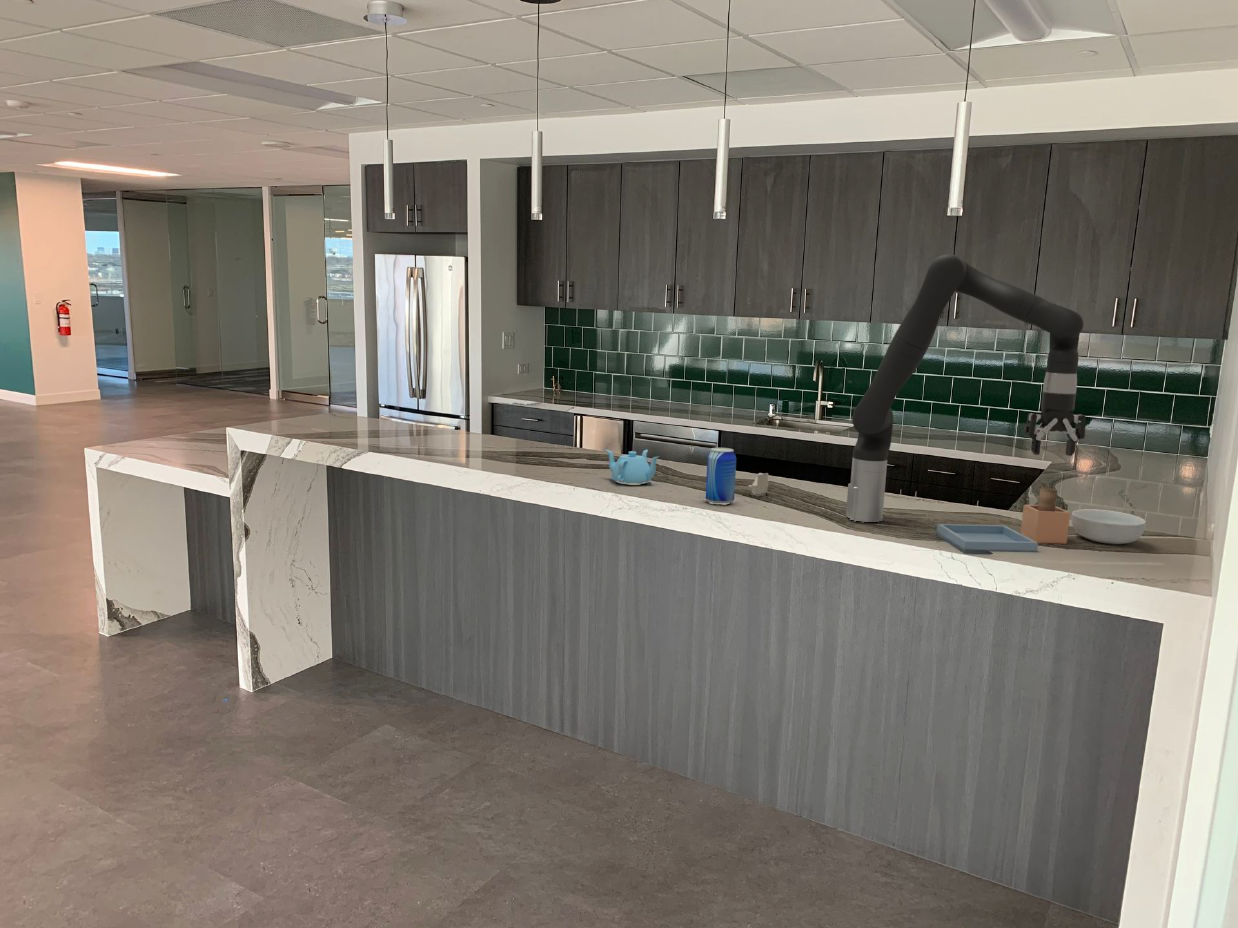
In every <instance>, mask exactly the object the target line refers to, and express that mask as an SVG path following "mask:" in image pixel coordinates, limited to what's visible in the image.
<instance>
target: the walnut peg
mask: <svg viewBox="0 0 1238 928" xmlns="http://www.w3.org/2000/svg"><path fill="white" fill-rule="evenodd" d="M1057 497H1058V489H1056V488H1051V487H1041V488H1040V489H1039V497H1038V504H1037V505H1038V510H1039V511H1055V507H1057V506H1056V505H1057Z"/></svg>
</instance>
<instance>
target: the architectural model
mask: <svg viewBox="0 0 1238 928" xmlns="http://www.w3.org/2000/svg"><path fill="white" fill-rule="evenodd" d="M769 485H770V484H769V472H765V473H762V472H759V473H757V476H756V477H755V480H753V481H752V483H751V484H749V485H748V488H749V487H750V488H751V494H752V493H753V494H761V493H764V492H767V493H768V486H769Z"/></svg>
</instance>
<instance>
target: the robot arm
mask: <svg viewBox="0 0 1238 928" xmlns="http://www.w3.org/2000/svg"><path fill="white" fill-rule="evenodd" d="M926 271H927V272H926V274H925V277H924V280H923V282H922V285H921V287H920V289H919V292H918V294H917V297H916V299H915V300H914V303H913V304H912V306H911V308H910V309H909V310H908V312H907V313H906V315H905V317H904V318H903V320H902V322H901V323H900V324H899V326H898V329H897V330H896V332H895V333H894V335H893V337H892V339H891V341H890V342H889V345H888V347H887V349H886V352H885V354H884V356H883V358H882V359H881V362H880V364H879V366H878V368H877V371H876V373H875V375H874V378H873V380H872V381H871V384H870V386H869V387H868V388H867V390H866V392H865V393H864V394H863V396H862V398H861V399H860V401H858V404H857V405H856V407H855V408H854V411H853V413H852V420H851V421H852V425H853V428H854V429H855V430H856V432H857V433H858V436H857V440H856V443H855V445H854V447H853V450H852V462H851V473H850V475H851V476H850V483H848V485H847V498H846V508H845V509H846V511H845V517H846V516H847V517H848V518H850V519H849V521H851V520H854V521H853V522H856V521H864V522H878V523H880V522H879V521H881V522H883V516H884V505H885V491H886V479H887V478H886V477H887V469H888V468H887V466H888V456H889V451H890V448H891V445H892V437H893V426H894V413H893V409H892V408H891V407H892V406H893V405H892V404H893V403H894V400H895V399H896V397H897V395H898V393H899V391H901V389H902V388H903V386H905V384H906V383H907V382H908V381H909V379H910V378H911V377H912V375H913V374H914V373H915V371H916V370H917V369H918V368H919V366H920V364H921V363H922V360H923V359H924V357H925V355H926V353H927V351H928V349H929V347H930V345H931V342H932V340H933V338H934V335H935V332H936V330H937V326H938V324H939V321H940V318H941V316H942V313H943V312H944V309H946V307H947V304H948V303H949V301H950V299H951V298H952V296H953V295H954V294H955V292H956V293H961V294H964V295H968V296H969V297H972V298H974V299H978V300H979V301H981V302H984V303H985V304H987V305H989V306H991V307H993V308H994V309H995V310H998V311H999V312H1001V313H1004V314H1005V315H1008V316H1009V317H1012V318H1014V319H1016V320H1018V321H1021V322H1023V323H1026V324H1028V325H1032V326H1036V327H1037V328H1040V329H1041V330H1044V331H1045V332H1047V333H1049V342H1048V343H1049V345H1048V346H1049V349H1048V355H1047V359H1046V361H1047V362H1046V370H1045V375H1044V380H1043V386H1042V394H1041V395H1042V396H1041V407H1040V408H1041V411H1040V413H1039V414H1037V413H1032V412H1029V413H1027V417H1026V418H1027V420H1026V423H1025V424H1026V425H1025V430H1024V436H1025V437H1027V438H1030V439H1031V447H1030V450H1031V452H1032V454H1033V455H1036V456H1039V455H1040V454H1041V453H1040V452H1041V445H1042V440H1041V439H1042V438H1043V436H1044V435H1046V434H1048V433H1049V432H1062V433H1063V434H1065V436H1066V438H1067V440H1066V445H1065V446H1066V447H1065V456H1071V457H1072V456H1073V455H1074V454H1075V453H1076V444H1077V441H1078V440H1081V439H1082V440H1084V438H1085V437H1086V420H1087V419H1086V418H1087V417H1086V415H1085V414H1084V415H1083V414H1081V413H1080V414H1079V413H1077V414H1074V411H1075V405H1076V398H1077V397H1076V396H1077V388H1078V387H1077V386H1078V376H1077V375H1078V367H1079V352H1078V351H1079V349H1078V347H1079V342H1080V336H1081V335H1080V334H1081V333H1082V331H1083V328H1084V320H1083V317H1082V315H1081V314H1079V313H1078V312H1077V311H1075V310H1072V309H1070V308H1067V307H1064V306H1062V305H1058V304H1056V303H1054V302H1051V301H1048V300H1047V299H1044V298H1043V297H1042V296H1039V295H1036V294H1034V293H1032V292H1029V291H1027V290H1026V289H1022V288H1020V287H1019V286H1018V287H1017V286H1016V285H1012V284H1009V283H1007V282H1004V281H1001V280H999V279H996V278H994V277H992V276H989V275H988V274H985V273H983V271H982V272H981V271H980V270H978V269H977V268H975V267H973V266H972V265H970V264H969V263H968V262H965V260H963V259H962V258H961V257H960V256H958V255H956V254H951V253H946V254H942V255H939V256H937V257H935V258H934V259H933V260H932V261H931V263H930V264H929V266H928V268H927V270H926ZM1038 421H1040V422H1041V423H1040V424H1039V425H1038V427H1036V424H1037V423H1038ZM1072 422H1074V423H1075V429H1074V428H1073V427H1072V425H1071V424H1072ZM847 517H846V518H847ZM848 518H847V519H848ZM864 522H863V523H864Z"/></svg>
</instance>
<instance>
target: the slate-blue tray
mask: <svg viewBox="0 0 1238 928" xmlns="http://www.w3.org/2000/svg"><path fill="white" fill-rule="evenodd" d="M935 535H936V537H938V538H940V539H942V540H943V541H945V542H946V543H948V544H949V545H950V546H952V547H953V548H955V549H957V550H958V551H960V552H961V553H963V554H968V555H969V554H971V555H972V554H974V555H979V554H981V555H982V554H984V555H994V553H993V552H1019V553H1020V552H1025V553H1026V552H1027V553H1028V552H1029V553H1038V549H1039V548H1038V547H1039V543H1037V542H1035V541H1034V540H1032V539H1030V538H1028V537H1026V536H1024V535H1022V534H1021V532H1019V531H1017V530H1014V529H1012V528H1010V527H1008V526H1007V525H1005V524H1004V525H1003V524H1002V525H1001V524H1000V525H999V524H965V523H964V524H962V523H960V524H959V523H958V524H957V523H956V524H955V523H954V524H953V523H952V524H951V523H937V524H936V532H935Z"/></svg>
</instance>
